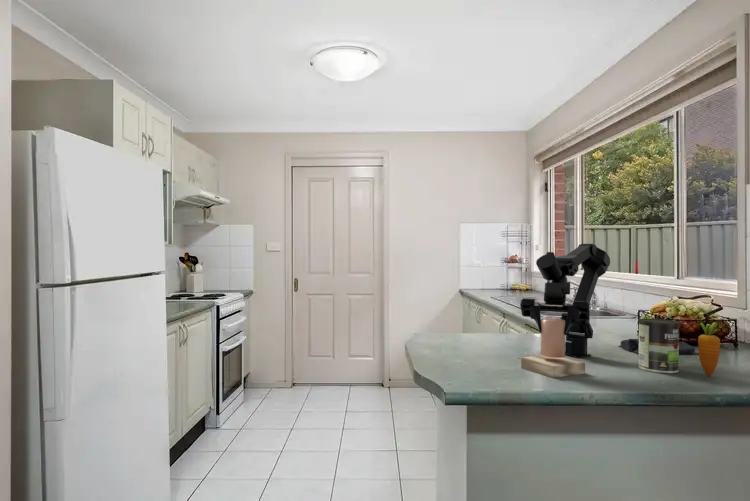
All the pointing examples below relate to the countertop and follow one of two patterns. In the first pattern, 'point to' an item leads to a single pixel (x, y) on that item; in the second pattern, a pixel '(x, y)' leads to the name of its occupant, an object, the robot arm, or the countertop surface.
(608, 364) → the countertop surface
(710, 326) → the carrot
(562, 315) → the robot arm
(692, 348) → the dark slate chunk
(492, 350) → the countertop surface
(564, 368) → the oak slab
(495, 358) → the countertop surface
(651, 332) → the coffee can
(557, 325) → the terracotta canister
